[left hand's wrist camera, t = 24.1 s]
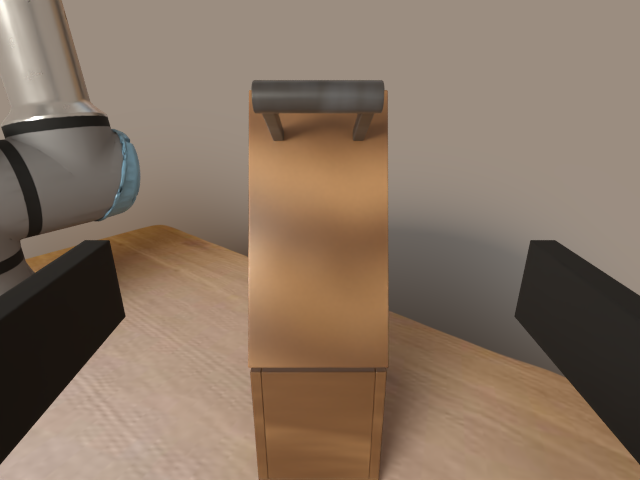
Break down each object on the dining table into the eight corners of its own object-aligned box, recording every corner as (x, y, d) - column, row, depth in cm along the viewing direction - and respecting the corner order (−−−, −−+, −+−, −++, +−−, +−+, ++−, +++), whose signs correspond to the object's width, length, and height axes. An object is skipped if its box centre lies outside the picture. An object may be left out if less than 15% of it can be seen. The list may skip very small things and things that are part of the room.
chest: (280, 346, 45) (276, 263, 41) (357, 346, 45) (361, 263, 41) (259, 485, 29) (249, 372, 26) (378, 485, 29) (386, 372, 26)
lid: (251, 95, 26) (220, 26, 18) (385, 95, 26) (415, 26, 18) (250, 363, 26) (218, 417, 18) (386, 363, 26) (417, 417, 18)
